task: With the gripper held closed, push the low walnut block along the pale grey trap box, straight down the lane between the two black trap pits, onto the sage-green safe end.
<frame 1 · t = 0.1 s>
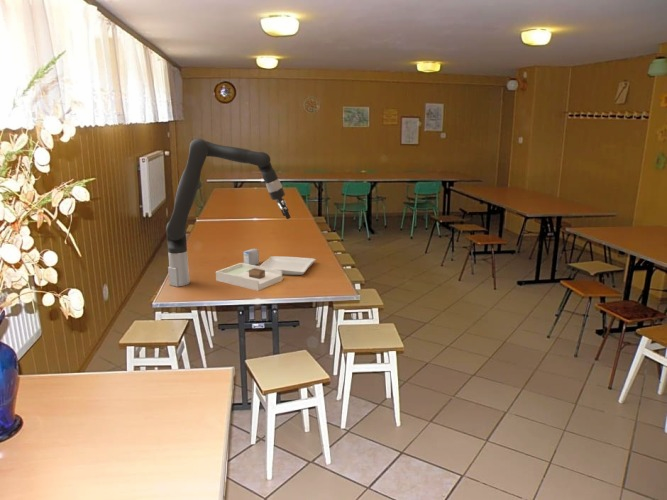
hand: (287, 216, 275), 31 cm above the table, tool tilted 20°, fingers open, 8 cm apart
walnut block: (257, 276, 268), point 3 cm above the table, touching trap box
trap box: (250, 280, 272), on the table
medicine box: (251, 265, 300), on the table
square plate: (287, 269, 292), on the table
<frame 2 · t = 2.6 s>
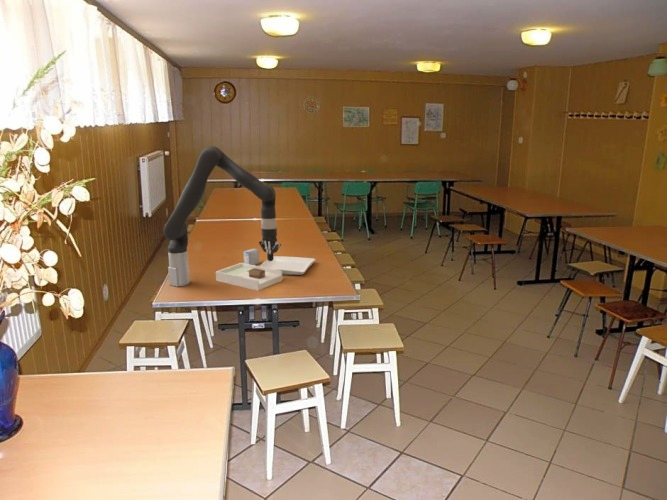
hand: (270, 260, 260), 13 cm above the table, tool pointing down, fingers closed
nothing on the table moved.
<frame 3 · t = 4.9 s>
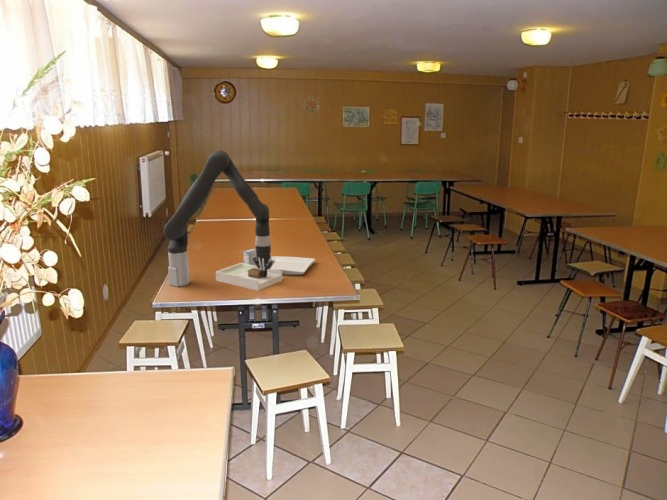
hand: (264, 276, 265), 4 cm above the table, tool pointing down, fingers closed
walnut block: (256, 276, 269), point 3 cm above the table, touching gripper
everything else where it was.
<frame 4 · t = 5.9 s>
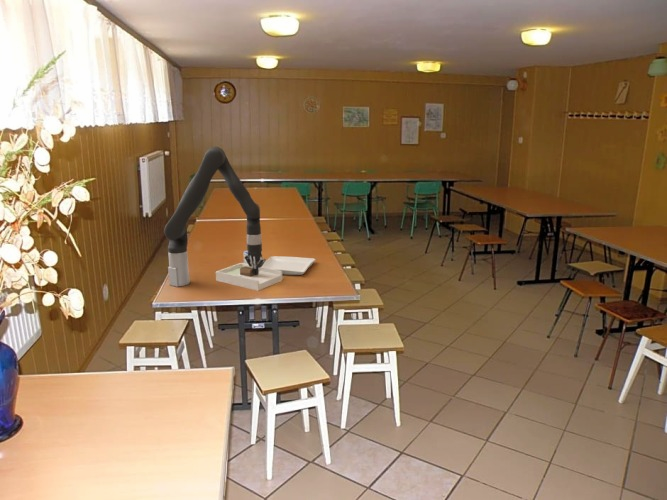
hand: (255, 275, 268), 4 cm above the table, tool pointing down, fingers closed
walnut block: (248, 274, 272), point 3 cm above the table, touching gripper, trap box
everything else where it was.
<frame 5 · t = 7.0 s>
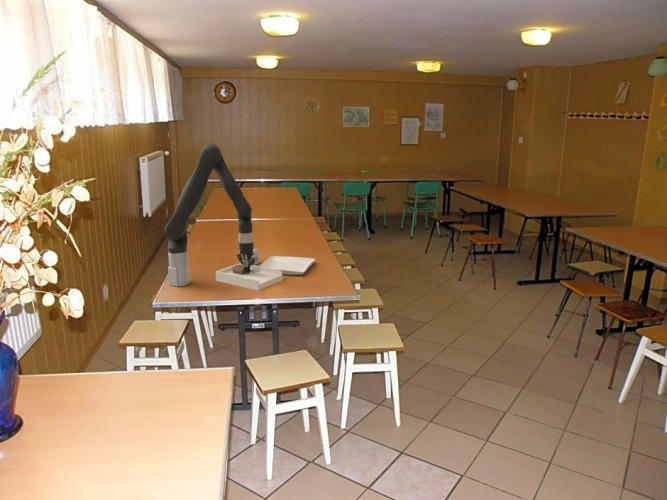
hand: (247, 273, 271), 4 cm above the table, tool pointing down, fingers closed
walnut block: (240, 272, 275), point 3 cm above the table, touching gripper, trap box
everything else where it was.
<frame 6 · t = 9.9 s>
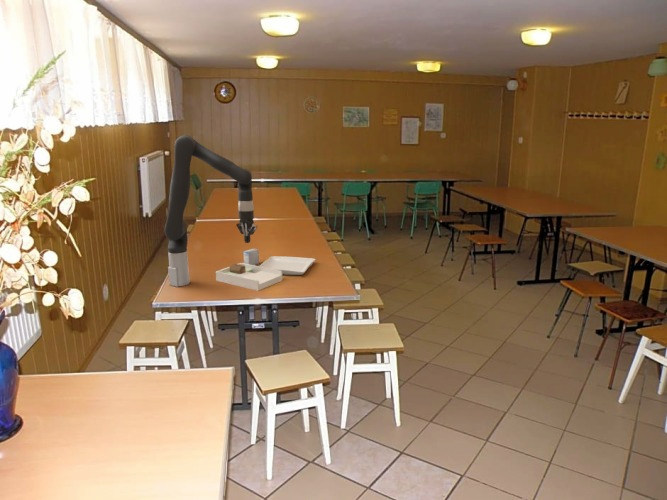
hand: (247, 242, 267), 20 cm above the table, tool pointing down, fingers closed
walnut block: (237, 272, 276), point 3 cm above the table, touching trap box
everything else where it was.
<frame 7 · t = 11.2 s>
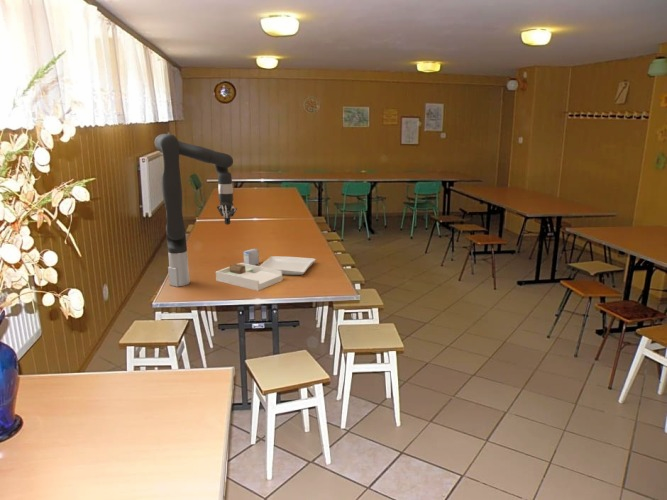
hand: (227, 224, 279), 27 cm above the table, tool pointing down, fingers closed
nothing on the table moved.
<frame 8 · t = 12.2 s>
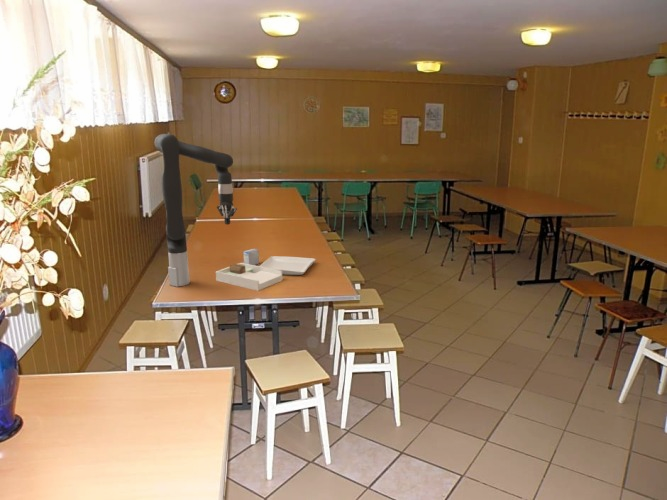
hand: (227, 224, 279), 27 cm above the table, tool pointing down, fingers closed
nothing on the table moved.
at the end: walnut block 1.3 cm from the target spot on the trap box, point 3.0 cm above the trap box's base; walnut block tilted 0°; the gripper is holding nothing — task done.
